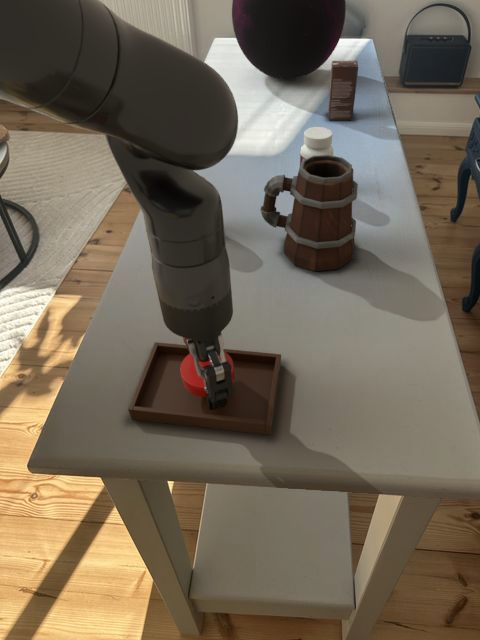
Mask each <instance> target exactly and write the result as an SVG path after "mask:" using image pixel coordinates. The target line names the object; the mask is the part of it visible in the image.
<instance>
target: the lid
mask: <svg viewBox="0 0 480 640" xmlns="http://www.w3.org/2000/svg"><path fill="white" fill-rule="evenodd" d="M224 355H225V359H226V361H228V362H229V364H231V367H232V368H231V375H232V383H233V380H234V379H235V377H234V365H233V361H232V359H231V357H230V356H229V355H228V354H227V353H226V352H224ZM199 362H200V366H202V367H203V366H207V365H210V362H209V361H208V362H201V361H199ZM180 371H181V377H182V381H183V384H184V387H185V388H186V389H187V390H188V391H189V392H190V393H192V394H194V395H196V396H200V397H207V396H206V392H205V390H204V383H203V379H202V378H201V377H199V376H198V374H197V372H196V369H195V366H194V362H193V358H192V355H191V354H189V355H187V356H186V357H185V359H184V360H183V362H182V364H181V368H180Z"/></svg>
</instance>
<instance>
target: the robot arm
mask: <svg viewBox="0 0 480 640" xmlns="http://www.w3.org/2000/svg"><path fill="white" fill-rule="evenodd" d="M0 99H1V100H4V101H6V102H9V103H11V104H13V105H16V106H19V107H21V108H24V109H26V110H29V111H32V112H34V113H36V114H39V115H42V116H44V117H46V118H49V119H51V120H54V121H57V122H59V123H62V124H64V125H67V126H71V127H73V128H77V129H81V130H85V131H90V132H94V133H98V134H103V135H104V137H105V140H106V142H107V145H108V147H109V150H110V152H111V154H112V156H113V159H114V160H115V162H116V165H117V167H118V168H119V171H120V173H121V175H122V177H123V178H124V181H125V183H126V185H127V186H128V189H129V190H130V193H131V194H132V196H133V198H134V200H135V201H136V203H137V205H138V207H139V209H140V210H141V212H142V216H143V221H144V226H145V231H146V235H147V240H148V245H149V249H150V254H151V269H152V270H151V271H152V275H153V280H154V284H155V288H156V294H157V297H158V302H159V307H160V311H161V316H162V320H163V323H164V325H165V326H166V328H167V329H168V330H169V331H170V332H172V333H173V334H175V335H177V336H178V337H181V338H182V341H183V342H184V345H187V348H188V351H189V352H190V354H191V355H192V358H193V362H194V366H195V369H196V372H197V374H198V376H199V377H201V378H202V379H203V383H204V390H205V392H206V396H207V402H208V406H209V408H210V410H215V409H218V408H222V407H225V405H226V404H227V400H226V398H227V397H230V396H232V375H231V368H232V367H231V364H229V362H228V361H226V359H225V355H224V351H223V349H224V346H225V340H224V337H223V333H222V331H224V330H225V329H226V328H227V327H228V325H229V324H230V322H231V321H232V318H233V314H234V309H233V308H234V306H233V293H232V280H231V268H230V266H231V265H230V259H229V255H228V251H227V246H226V235H225V224H224V213H223V204H222V197H221V194H220V192H219V191H218V189H217V188H216V186H214V184H213V183H212V182H211V181H209V180H207V178H205V177H204V176H202V177H201V175H200V174H199V173H198V172H196V171H202V170H203V171H204V170H207V169H210V168H212V167H214V166H216V165H217V164H218V163H220V162H221V161H223V159H225V158H226V157H227V156H228V155H229V153H230V152H231V149H233V146H234V144H235V141H236V140H237V135H238V129H239V113H238V106H237V103H236V100H235V97H234V94H233V92H232V90H231V88H230V86H229V85H228V83H227V82H226V80H225V79H224V78H223V77H222V75H221V74H220V73H218V72H217V70H216V69H214V68H213V67H211V66H210V65H209V64H208V63H206V62H205V61H203V60H202V59H200V58H197V57H196V56H194V55H192V53H191V54H190V53H189V52H187V51H185V50H183V49H182V48H179V47H177V46H175V45H173V44H171V43H169V42H168V41H166V40H164V39H162V38H160V37H158V36H155V35H154V34H151V33H149V32H147V31H145V30H142V28H141V29H140V28H138V27H137V26H135V25H133V24H132V23H130V22H129V21H127V20H125V19H123V18H122V17H120V16H119V15H117V14H116V13H115V12H114V11H113V10H112V9H110V7H108V6H107V5H106V4H104V3H103V2H102V1H101V0H0ZM203 177H204V178H205V179H204V178H203ZM199 361H201V362H208V361H209V362H210V365H207V366H203V367H202V366H200V362H199Z"/></svg>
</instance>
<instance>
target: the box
mask: <svg viewBox="0 0 480 640" xmlns="http://www.w3.org/2000/svg"><path fill="white" fill-rule="evenodd" d="M330 67H331V68H330V69H331V70H330V82H329V83H330V84H329V96H328V97H329V98H328V109H327V110H328V111H327V116H328V120H329V121H333V120H334V121H340V120H341V121H353V117H354V107H355V99H356V90H357V81H358V72H359V64H358V60H331V66H330Z"/></svg>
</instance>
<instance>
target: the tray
mask: <svg viewBox="0 0 480 640" xmlns="http://www.w3.org/2000/svg"><path fill="white" fill-rule="evenodd" d="M223 351H224V352H226V353H227V354H228V355H229V356H230V357H231V359H232V361H233V365H234V377H235V379H234V380H233V383H232V396H230V397H227V398H226V400H227V404H226V405H225V407H222V408H218V409H215V410H210V408H209V406H208V402H207V397H200V396H196V395H194V394H192V393H190V392H189V391H188V390H187V389H186V388H185V387H184V384H183V381H182V377H181V371H180V368H181V364H182V362H183V360H184V359H185V357H186V356H187V355H189V354H190V352H189V351H188V348H187V345H186V344H177V343H168V342H167V343H166V342H158V341H155V342H154V343H153V346H152V348H151V351H150V353H149V356H148V358H147V361H146V363H145V366H144V369H143V370H142V373H141V376H140V378H139V381H138V383H137V385H136V388H135V390H134V393H133V396H132V398H131V400H130V403H129V406H128V409H127V410H128V413H129V416H130V419H131V420H134V421H135V420H136V421H142V422H153V423H162V424H169V425H179V426H187V427H198V428H205V429H206V428H207V429H213V430H223V431H233V432H240V433H241V432H242V433H250V434H259V435H267V436H271V433H272V426H273V420H274V414H275V408H276V407H275V406H276V400H277V394H278V388H279V387H278V386H279V379H280V374H281V373H280V372H281V368H282V367H281V366H282V354H281V353H270V352H260V351H251V350H240V349H239V350H238V349H230V348H223Z"/></svg>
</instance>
